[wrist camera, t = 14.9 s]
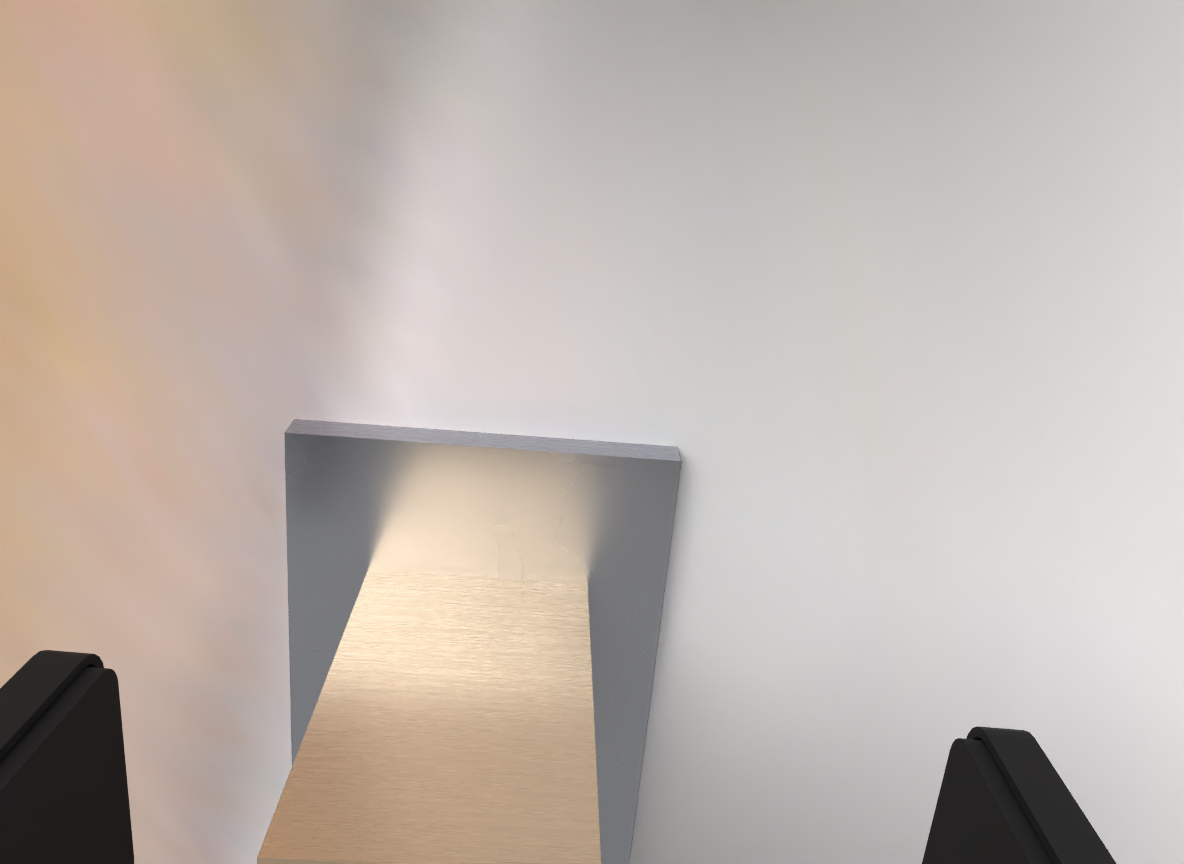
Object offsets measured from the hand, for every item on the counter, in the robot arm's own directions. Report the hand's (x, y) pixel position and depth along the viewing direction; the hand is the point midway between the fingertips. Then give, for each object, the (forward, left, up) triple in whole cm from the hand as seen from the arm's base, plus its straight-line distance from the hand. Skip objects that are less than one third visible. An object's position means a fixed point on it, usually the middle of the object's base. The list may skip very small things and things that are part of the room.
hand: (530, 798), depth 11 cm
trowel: (-1, +3, -6) cm, 7 cm away
